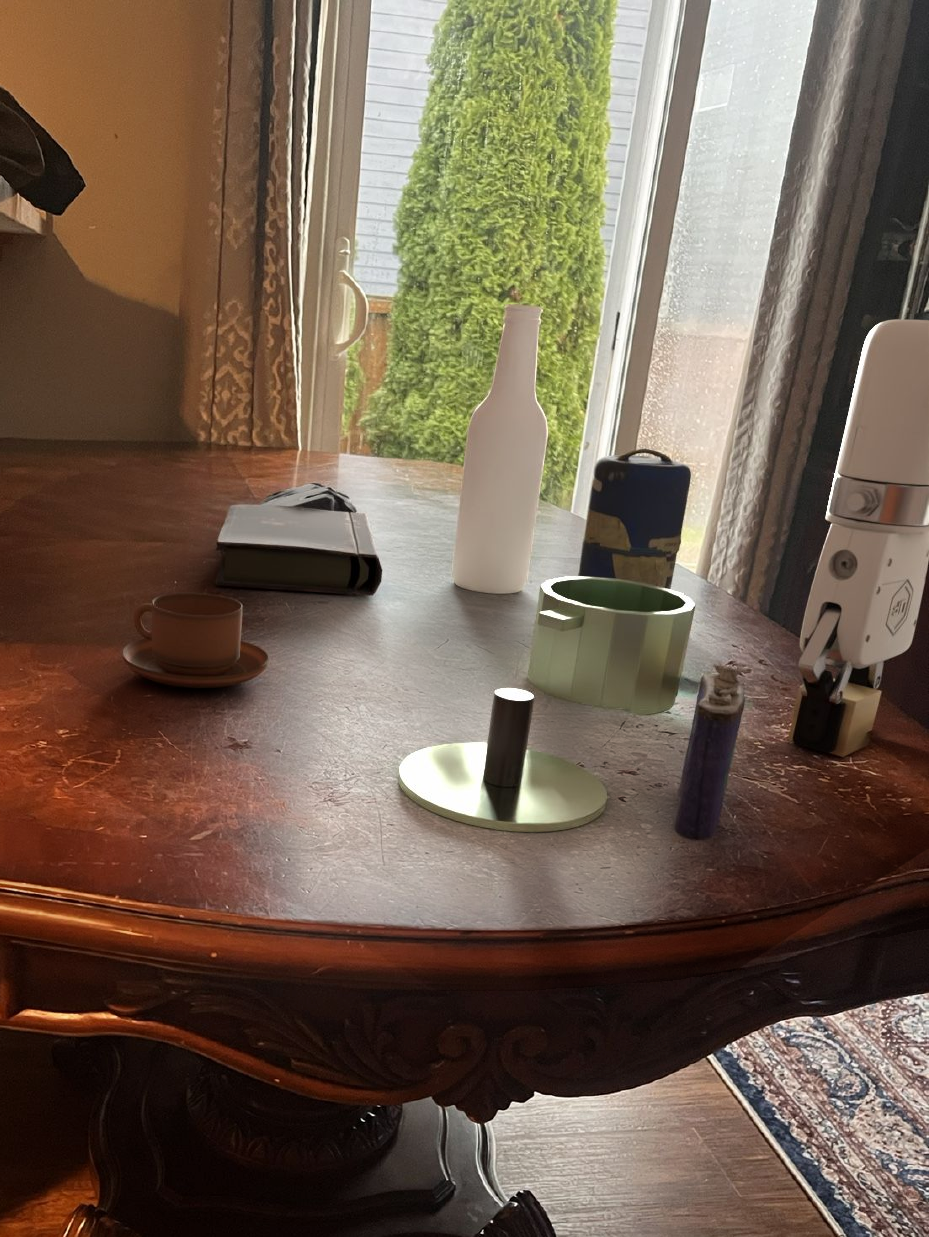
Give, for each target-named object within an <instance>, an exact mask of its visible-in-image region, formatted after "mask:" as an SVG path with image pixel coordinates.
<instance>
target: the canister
mask: <svg viewBox="0 0 929 1237" xmlns="http://www.w3.org/2000/svg"><path fill="white" fill-rule="evenodd" d="M638 454H648V455H652V456H646V455H645V456H644V455H638ZM691 479H692V472H691V469H690V467H689V466H688V465H687V464H685V463H683V462H680V461H677V460H674V459H672V458H670V457H669V456H668V455H666V454H664V453H662V452H660V451H657V450H653V449H649V448H640V449H635V450H632V451H627V452H626V453H622V454H615V455H605V456H603V457H601V458H598V459H597V461H596V463H595V465H594V468H593V478H592V482H591V487H590V493H589V499H588V500H589V501H588V506H587V514H586V520H585V527H584V534H583V539H582V544H581V552H580V557H579V558H580V559H579V568H578V573H577V577H600V578H612V579H622V580H628V581H634V582H641V583H646V584H650V585H654V586H658V587H662V588H666V589H670V590H672V584H673V577H674V574H675V573H674V572H675V567H676V561H677V555H678V553H679V551H680V547H681V544H682V531H683V525H684V520H685V519H684V518H685V515H686V509H687V505H688V504H687V503H688V498H689V491H690V487H691V486H690V485H691Z"/></svg>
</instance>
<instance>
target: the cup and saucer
mask: <svg viewBox="0 0 929 1237" xmlns="http://www.w3.org/2000/svg"><path fill="white" fill-rule="evenodd" d="M146 612H150V613H151V631H149V630H147V629H145V627H144V625H143V623H142V617H143V614H144V613H146ZM133 623H134V628H135V629H136V631H137V633H138V634H139V635H140V636H141V637H142V638H140V639H137V640H134V641H132V642H130V643H129V644H127V645H126V646H124V648H123V649H122V660H123V661H124V663H125V665H126V666H127V667H128V668H129V669H130V670H131V671H132V672H134V673H135V674H136V675H138V676H140V677H142V678H144V679H147V680H149V681H152V682H155V683H159V684H163V685H166V686H173V687H179V688H187V689H188V688H190V689H214V688H224V687H229V686H235V685H240V684H242V683H246V682H248V681H250V680H252V679H254V678H257V676H259V675H260V674H261V673H262V672H264V670H266V668H267V667H268V664H269V658H270V657H269V655H268V653H267V652H266V651H265V650H264V649H263V648H261V647H259V646H258V645H255V644H253V643H250V642H248V641H244V640H241V639H242V625H243V624H242V623H243V604H242V603H241V602H240V601H239V600H237V599H235V598H232V597H229V596H225V595H220V594H214V593H205V592H176V593H175V592H174V593H168V594H163V595H159V596H157V597H155V598H153V599H152V600H151V603H143V604H140V605H138V607H137V608H136V609H135V612H134V615H133Z"/></svg>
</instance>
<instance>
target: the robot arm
mask: <svg viewBox="0 0 929 1237" xmlns="http://www.w3.org/2000/svg"><path fill="white" fill-rule="evenodd" d="M824 520H826V521H827V522H830V523H831V524H830V527H829V529H828V533H827V535H826V538H825V541H824V544H823V547H822V550H821V552H820V553H821V554H820V556H819V560H818V563H817V567H816V570H815V573H814V577H813V581H812V584H811V588H810V592H809V595H808V598H807V603H806V607H805V611H804V616H803V621H802V625H801V630H800V638H799V648H800V651H801V652H802V654H801V656H800V658H799V661H798V663H797V668H798V670H799V672H800V674H801V676H802V685H801V686H802V688H801V695H802V698H801V703H800V707H799V712H798V716H797V721H796V725H795V729H794V734H793V742H792V743H794V744H796V745H799V746H802V747H805V748H809V749H812V750H815V751H819V752H820V753H821V752H822V753H824V754H831V753H830V752H832V751H834V750H835V747H836V743H837V739H838V735H839V731H840V727H841V723H842V719H843V714H844V710H845V706H846V703H843V702H841V700H842V697H843V694H844V692H845V689H846V686H847V683H848V682H849V683H853V684H857V685H860V686H864V687H868V688H872V689H876V690H878V688H879V686H880V684H881V681H882V675H883V669H884V664H886V663H887V662H888V660H889V659H893V658H895V657H897V656H899V655H902V654H903V653H905V652H907V650H909V648H910V647H911V645H912V643H913V639H914V636H915V631H916V626H917V622H918V618H919V612H920V608H921V603H922V598H923V593H924V588H925V584H926V577H927V572H928V567H929V566H928V565H929V319H897V318H896V319H888V320H884V321H882V322H879V323H878V324H876V325H875V326H873V328H872V329H871V330H870V331H869V332H868V334H867V336H866V338H865V340H864V344H863V347H862V351H861V356H860V360H859V365H858V368H857V374H856V377H855V383H854V388H853V390H852V397H851V401H850V405H849V410H848V415H847V418H846V424H845V428H844V433H843V437H842V442H841V446H840V451H839V455H838V459H837V464H836V468H835V473H834V478H833V481H832V487H831V491H830V495H829V500H828V505H827V510H826V514H825V518H824ZM830 651H834V652H838V653H839V654H840V658H841V659H837V658H834V657H833V658H832V657H829V656H828V655H829V653H830ZM827 667H830V668H834V669H837V672H836V675H835V678H834V677H833V673H832V671H830V670H827ZM833 678H834V679H835V681H834V680H833Z"/></svg>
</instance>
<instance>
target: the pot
mask: <svg viewBox="0 0 929 1237" xmlns="http://www.w3.org/2000/svg"><path fill="white" fill-rule="evenodd" d="M538 592H539V593H538V599H537V606H536V612H535V613H536V614H535V618H534V619H535V620H534V626H533V634H532V639H531V647H530V654H529V660H528V668H527V674H526V675H527V678H528V680H529V683H530V684H531V685H533V686H534V687H536V688H537V689H539V690H541V691H542V692H543V693H545V694H548V695H551V696H554V697H556V698H559V699H562V700H566V701H567V702H571V703H577V704H581V705H587V706H592V707H596V708H604V709H616V710H623V711H626V712H629V713H632V714H635V715H638V716H646V715H654V714H658V713H662V712H663V713H664V712H665V711H667V710H669V709H672V708H673V706H675V703H676V698H677V697H678V694H679V689H680V684H681V679H682V675H683V669H684V664H685V660H686V655H687V649H688V644H689V639H690V635H691V631H692V630H691V629H692V624H693V620H694V616H695V610H696V603H695V602H694V601H693V600H692V599H691V598H690V597H689V596H686V594H685V593H684V592H680V591H675V590H672V589H666V588H662V587H658V586H654V585H650V584H646V583H641V582H634V581H628V580H622V579H612V578H600V577H578V576H564V577H557V578H553V579H547V580H546V581H545V582H543V583H542V584H540V586H539V591H538Z"/></svg>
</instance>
